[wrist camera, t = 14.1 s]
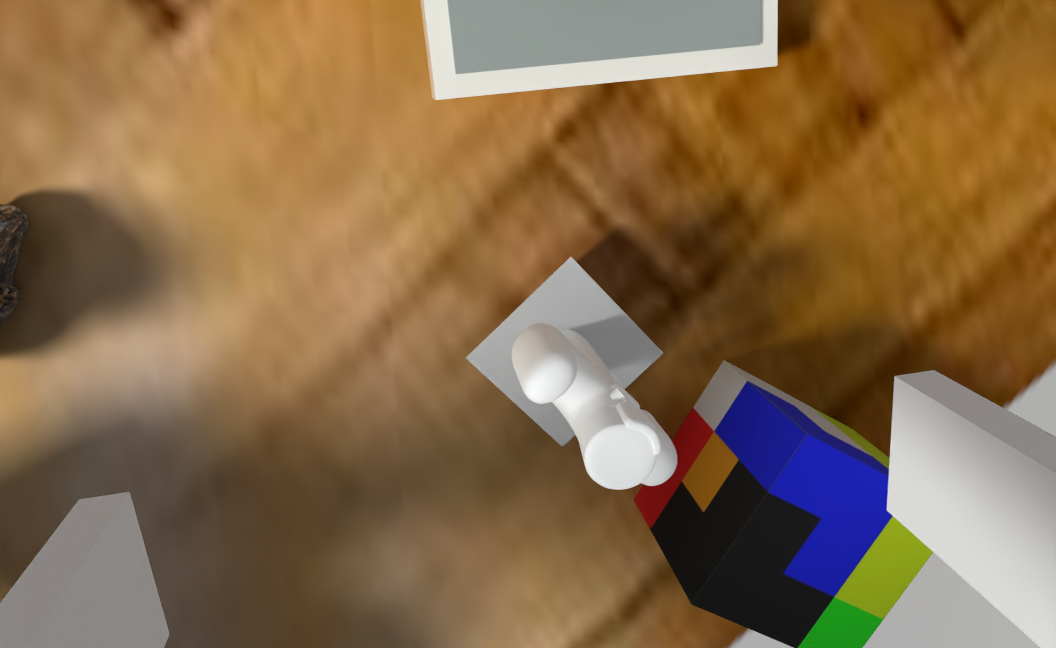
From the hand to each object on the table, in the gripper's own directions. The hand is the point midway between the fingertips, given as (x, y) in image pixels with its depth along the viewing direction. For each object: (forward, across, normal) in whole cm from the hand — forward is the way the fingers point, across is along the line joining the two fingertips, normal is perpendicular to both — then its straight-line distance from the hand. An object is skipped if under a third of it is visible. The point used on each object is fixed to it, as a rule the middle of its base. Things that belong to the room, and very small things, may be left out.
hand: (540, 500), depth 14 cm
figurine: (+29, +5, -7) cm, 30 cm away
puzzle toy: (+29, +16, -17) cm, 37 cm away
